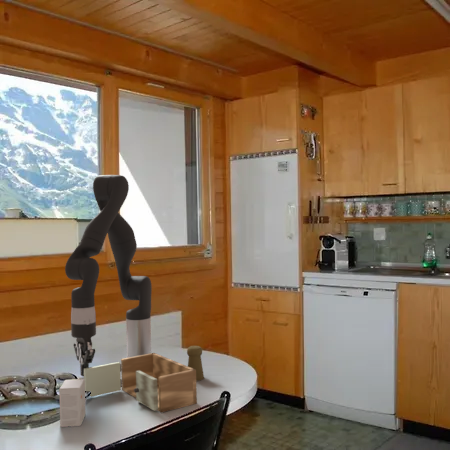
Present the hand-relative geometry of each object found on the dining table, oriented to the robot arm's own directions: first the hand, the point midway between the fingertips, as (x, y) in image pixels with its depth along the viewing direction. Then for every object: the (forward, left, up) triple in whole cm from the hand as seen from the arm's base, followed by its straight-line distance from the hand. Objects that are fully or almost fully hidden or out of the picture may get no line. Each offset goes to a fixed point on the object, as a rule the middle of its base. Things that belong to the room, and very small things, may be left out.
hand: (84, 375), depth 168 cm
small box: (+19, -11, -6) cm, 23 cm away
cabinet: (+16, +16, -6) cm, 23 cm away
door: (+4, +4, -6) cm, 8 cm away
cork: (+8, +36, -6) cm, 38 cm away
